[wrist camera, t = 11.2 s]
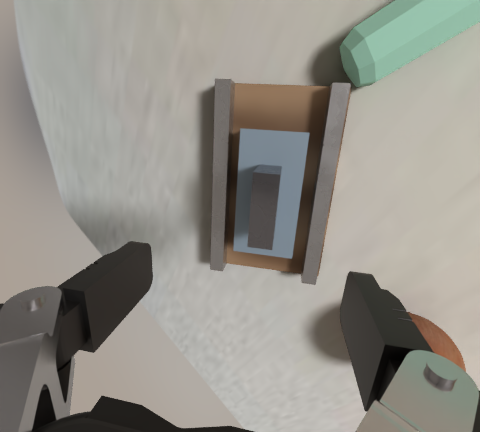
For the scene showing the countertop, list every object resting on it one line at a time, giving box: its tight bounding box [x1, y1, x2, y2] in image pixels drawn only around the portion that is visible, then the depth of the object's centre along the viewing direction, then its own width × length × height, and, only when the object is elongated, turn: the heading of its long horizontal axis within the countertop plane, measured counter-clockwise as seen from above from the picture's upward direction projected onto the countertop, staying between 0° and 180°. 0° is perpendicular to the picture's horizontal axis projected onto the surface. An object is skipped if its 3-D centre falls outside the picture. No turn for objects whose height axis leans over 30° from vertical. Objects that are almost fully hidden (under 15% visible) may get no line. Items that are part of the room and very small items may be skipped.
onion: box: [407, 312, 466, 372], centre depth 27 cm, size 10×9×10 cm
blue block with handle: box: [233, 128, 310, 259], centre depth 24 cm, size 12×6×9 cm, turn 177°
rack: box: [210, 79, 352, 285], centre depth 27 cm, size 20×13×3 cm, turn 177°
